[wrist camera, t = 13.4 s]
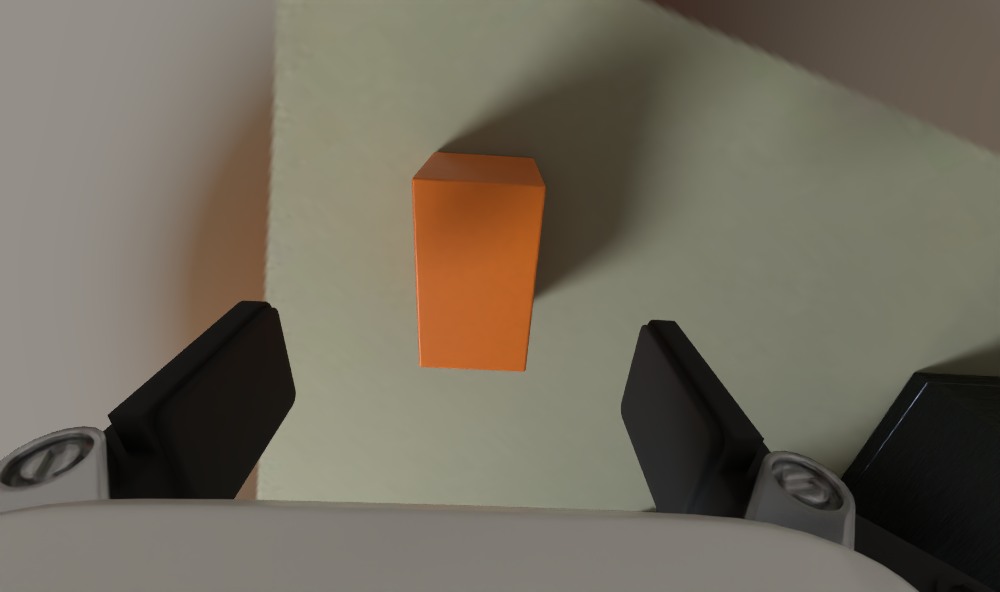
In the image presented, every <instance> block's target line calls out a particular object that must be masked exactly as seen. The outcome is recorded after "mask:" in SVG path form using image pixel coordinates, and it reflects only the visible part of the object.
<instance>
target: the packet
mask: <svg viewBox="0 0 1000 592" xmlns="http://www.w3.org/2000/svg"><path fill="white" fill-rule="evenodd" d="M545 194H546V186H545V184H544V182H543V179H542V177H541V175H540V172H539V170H538V168H537V165H536V163H535V161H534V159H533V158H525V157H510V156H494V155H478V154H462V153H446V152H434V153H433V155H432V156H431V157H430V158H429V159H428V161H427V162H426V163H425V164H424V165H423V166H422V168H421V169H420V170H419V171H418V172H417V174H416V175H415V176H414V177H413V179H412V195H413V219H414V244H415V268H416V293H417V317H418V342H419V364H420V366H421V367H436V368H458V369H480V370H502V371H525V369H526V361H527V352H528V344H529V335H530V326H531V317H532V308H533V299H534V291H535V282H536V273H537V264H538V255H539V247H540V238H541V229H542V220H543V211H544V203H545Z"/></svg>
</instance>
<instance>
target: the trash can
mask: <svg viewBox="0 0 1000 592" xmlns="http://www.w3.org/2000/svg"><path fill="white" fill-rule="evenodd" d="M841 481H842V482H843V483H844V484H845V485H846V486H847V487H848V489H849V490H850V492H851V494H852V495H853V497H854V502H855V506H856V508H855V513H856V514H857V515H859V516H861V517H863V518H865V519H867V520H868V521H870V522H872V523H874V524H876V525H877V526H879V527H881V528H883V529H885V530H886V531H888V532H890V533H892V534H894V535H896V536H897V537H899V538H901V539H903V540H905V541H906V542H908V543H910V544H912V545H914V546H916V547H917V548H919V549H921V550H923V551H925V552H926V553H928V554H930V555H932V556H934V557H935V558H937V559H939V560H941V561H943V562H945V563H946V564H948V565H950V566H952V567H954V568H955V569H957V570H959V571H961V572H963V573H965V574H966V575H968V576H970V577H972V578H974V579H975V580H977V581H979V582H981V583H982V584H984V585H985V586H987V587H989V588H990V589H992V590H993V591H995V592H1000V377H989V376H967V375H946V374H925V373H914V374H913V376H912V377H911V379H910V380H909V381H908V383H907V384H906V386H905V387H904V389H903V390H902V392H901V393H900V395H899V396H898V398H897V399H896V400H895V402H894V403H893V405H892V406H891V408H890V409H889V411H888V412H887V414H886V415H885V417H884V418H883V419H882V421H881V422H880V424H879V425H878V427H877V428H876V430H875V431H874V433H873V434H872V436H871V437H870V438H869V440H868V441H867V443H866V444H865V446H864V447H863V449H862V450H861V452H860V453H859V455H858V456H857V457H856V459H855V460H854V462H853V463H852V465H851V466H850V468H849V469H848V471H847V472H846V474H845V475H844V477H843V478H842V479H841Z"/></svg>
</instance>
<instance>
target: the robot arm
mask: <svg viewBox="0 0 1000 592" xmlns="http://www.w3.org/2000/svg"><path fill="white" fill-rule="evenodd" d="M295 395H296V392H295V386H294V382H293V377H292V373H291V368H290V363H289V359H288V354H287V350H286V345H285V341H284V336H283V332H282V327H281V322H280V318H279V314H278V311H277V309H276V308H272V307H271V305H270V304H269V303H268V302H261V301H241V302H239V303H238V304H237V305H235V306H234V307H233V308H232V309H231V310H230V311H228V312H227V313H226V314H225V315H224V316H223V317H221V318H220V319H219V320H218V321H217V322H216V323H214V324H213V325H212V326H211V327H210V328H209V329H207V330H206V331H205V332H204V333H203V334H202V335H200V337H198V338H197V339H196V340H195V341H193V342H192V343H191V344H190V345H189V346H188V347H187V348H185V349H184V350H183V351H182V352H181V353H180V354H178V355H177V356H176V357H175V358H174V359H172V360H171V361H170V362H169V363H168V364H167V365H165V366H164V367H163V368H162V369H161V370H160V371H159V372H157V373H156V374H155V375H154V376H153V377H152V378H150V379H149V380H148V381H147V382H146V383H144V384H143V385H142V386H141V387H140V388H139V389H137V390H136V391H135V392H134V393H133V394H132V395H131V396H129V397H128V398H127V399H126V400H125V401H124V402H122V403H121V404H120V405H119V406H118V407H117V408H115V409H114V410H113V411H112V412H111V413H110V414H108V417H109V419H110V421H111V423H112V424H111V425H110V426H109V427H108V428H107V429H106V430H104V431H101V430H99V429H97V428H94V427H85V426H84V427H74V428H67V429H64V430H60V431H56V432H52V433H50V434H47V435H44V436H42V437H39V438H37V439H34V440H33V441H31V442H29V443H27V444H25V445H23V446H21V447H19V448H17V449H16V450H14V451H13V452H12V453H10V454H9V455H7V456H6V457H5V458H3V459H2V460H1V461H0V592H995V591H993V590H992V589H990V588H989V587H987V586H985V585H984V584H982V583H981V582H979V581H977V580H975V579H974V578H972V577H970V576H968V575H966V574H965V573H963V572H961V571H959V570H957V569H955V568H954V567H952V566H950V565H948V564H946V563H945V562H943V561H941V560H939V559H937V558H935V557H934V556H932V555H930V554H928V553H926V552H925V551H923V550H921V549H919V548H917V547H916V546H914V545H912V544H910V543H908V542H906V541H905V540H903V539H901V538H899V537H897V536H896V535H894V534H892V533H890V532H888V531H886V530H885V529H883V528H881V527H879V526H877V525H876V524H874V523H872V522H870V521H868V520H867V519H865V518H863V517H861V516H859V515H857V514H856V513H855V508H856V506H855V502H854V497H853V495H852V494H851V492H850V490H849V489H848V487H847V486H846V485H845V484H844V483H843V482H842V481H841V480H840V478H839V477H838V476H837V475H835V474H834V473H833V472H831V471H830V470H829V469H827V468H826V467H825V466H823V465H821V464H820V463H818V462H816V461H814V460H812V459H810V458H808V457H805V456H803V455H800V454H797V453H793V452H787V451H774V452H770V451H769V449H768V448H767V447H766V445H765V444H764V443H763V440H764V438H763V437H762V436H761V434H760V433H759V432H758V431H757V429H756V428H755V427H754V425H753V424H752V423H751V421H750V420H749V419H748V417H747V416H746V415H745V413H744V412H743V411H742V409H741V408H740V407H739V405H738V404H737V403H736V401H735V400H734V399H733V397H732V396H731V395H730V393H729V392H728V391H727V389H726V388H725V387H724V385H723V384H722V383H721V382H720V380H719V379H718V378H717V376H716V375H715V374H714V372H713V371H712V370H711V368H710V367H709V366H708V364H707V363H706V362H705V360H704V359H703V358H702V356H701V355H700V354H699V352H698V351H697V350H696V348H695V347H694V346H693V344H692V343H691V342H690V340H689V339H688V338H687V337H686V335H685V334H684V333H683V331H682V330H681V329H680V327H679V326H678V325H677V323H676V322H675V321H666V320H651V321H650V322H649V323H648V325H643V326H642V327H641V330H640V333H639V337H638V341H637V345H636V349H635V353H634V357H633V360H632V364H631V368H630V372H629V376H628V380H627V384H626V387H625V391H624V395H623V399H622V403H621V414H622V418H623V421H624V424H625V426H626V429H627V431H628V434H629V437H630V439H631V442H632V445H633V447H634V450H635V453H636V455H637V458H638V460H639V463H640V466H641V468H642V471H643V474H644V476H645V479H646V481H647V484H648V487H649V489H650V492H651V495H652V497H653V500H654V502H655V505H656V508H657V510H658V513H656V512H637V511H616V510H587V509H558V508H529V507H500V506H467V505H433V504H398V503H362V502H322V501H279V500H236V499H234V498H235V497H236V495H237V493H238V492H239V490H240V489H241V487H242V485H243V484H244V482H245V480H246V479H247V477H248V476H249V474H250V473H251V471H252V469H253V468H254V466H255V465H256V463H257V461H258V460H259V458H260V457H261V455H262V453H263V452H264V450H265V449H266V447H267V445H268V444H269V442H270V441H271V439H272V437H273V436H274V434H275V433H276V431H277V429H278V428H279V426H280V425H281V423H282V422H283V420H284V418H285V417H286V415H287V414H288V412H289V410H290V409H291V407H292V405H293V403H294V401H295Z"/></svg>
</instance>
